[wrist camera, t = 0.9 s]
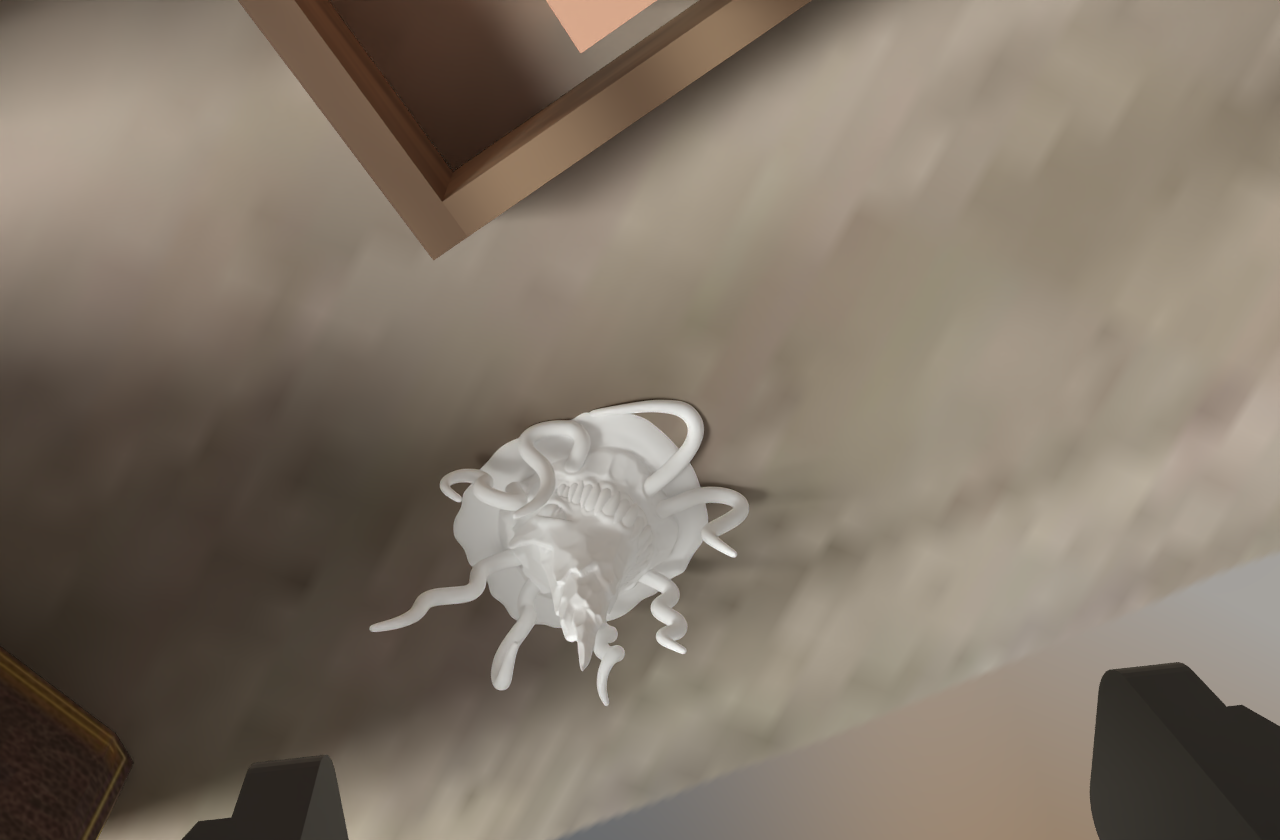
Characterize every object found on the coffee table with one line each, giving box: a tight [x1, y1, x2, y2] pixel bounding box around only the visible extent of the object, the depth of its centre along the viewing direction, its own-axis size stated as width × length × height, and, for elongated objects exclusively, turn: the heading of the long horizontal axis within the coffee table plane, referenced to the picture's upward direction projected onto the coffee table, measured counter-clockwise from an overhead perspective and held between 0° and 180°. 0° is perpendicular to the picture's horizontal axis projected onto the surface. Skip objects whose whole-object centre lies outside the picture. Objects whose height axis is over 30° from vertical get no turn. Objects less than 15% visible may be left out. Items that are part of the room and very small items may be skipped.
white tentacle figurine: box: [370, 400, 749, 706], centre depth 38 cm, size 9×12×9 cm
